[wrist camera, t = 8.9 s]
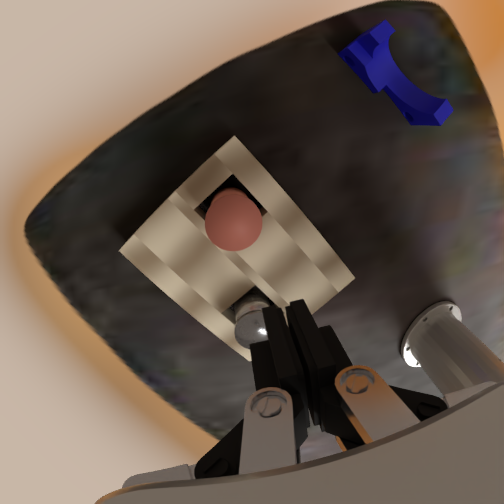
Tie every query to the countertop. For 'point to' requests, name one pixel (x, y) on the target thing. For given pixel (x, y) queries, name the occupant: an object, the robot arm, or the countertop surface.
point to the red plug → (232, 220)
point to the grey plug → (250, 317)
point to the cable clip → (392, 77)
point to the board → (234, 262)
